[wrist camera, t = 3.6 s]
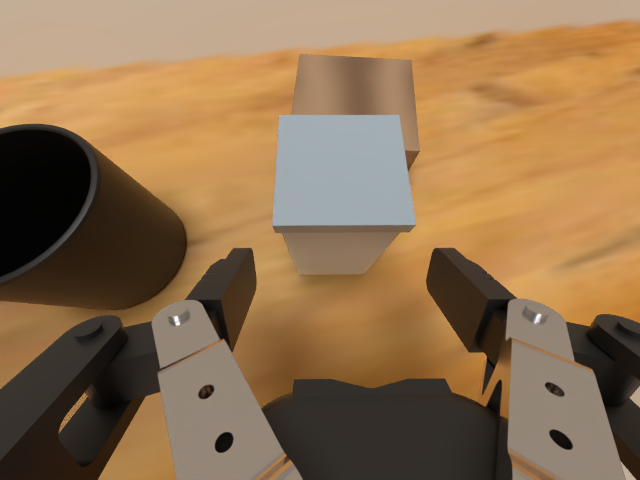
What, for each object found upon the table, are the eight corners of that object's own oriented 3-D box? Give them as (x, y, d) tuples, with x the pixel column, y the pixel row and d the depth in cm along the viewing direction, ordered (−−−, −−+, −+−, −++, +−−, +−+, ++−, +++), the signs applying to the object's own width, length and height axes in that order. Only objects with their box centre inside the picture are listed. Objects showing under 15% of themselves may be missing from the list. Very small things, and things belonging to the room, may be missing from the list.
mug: (43, 222, 21) (-141, 151, 13) (183, 191, 22) (101, 108, 14) (28, 334, 18) (-227, 339, 10) (192, 292, 19) (93, 263, 11)
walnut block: (293, 180, 23) (287, 143, 18) (302, 102, 27) (299, 54, 22) (398, 187, 23) (419, 151, 18) (394, 107, 26) (411, 60, 22)
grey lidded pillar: (295, 277, 20) (272, 225, 10) (297, 212, 22) (279, 114, 12) (366, 276, 20) (416, 224, 10) (362, 212, 22) (399, 114, 12)
